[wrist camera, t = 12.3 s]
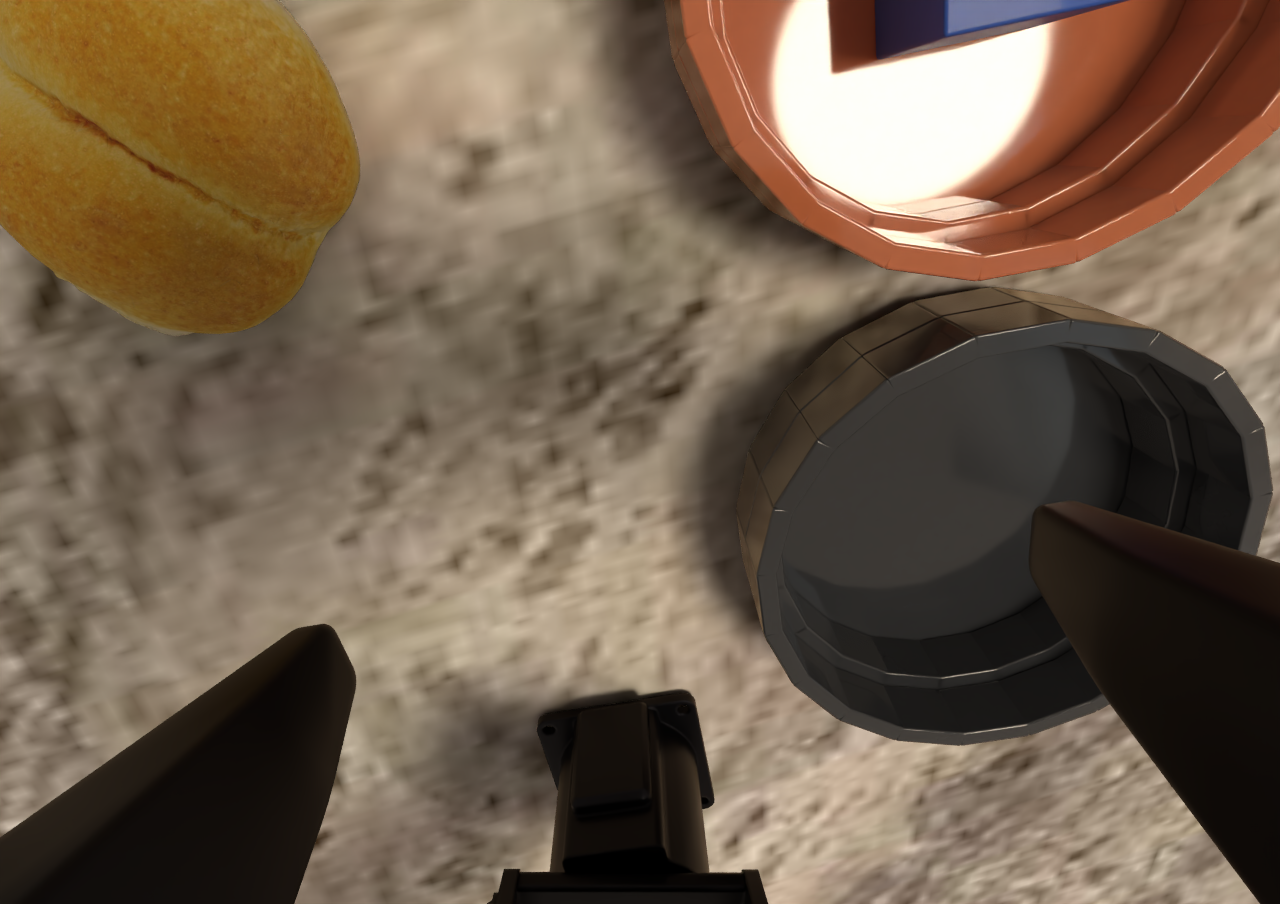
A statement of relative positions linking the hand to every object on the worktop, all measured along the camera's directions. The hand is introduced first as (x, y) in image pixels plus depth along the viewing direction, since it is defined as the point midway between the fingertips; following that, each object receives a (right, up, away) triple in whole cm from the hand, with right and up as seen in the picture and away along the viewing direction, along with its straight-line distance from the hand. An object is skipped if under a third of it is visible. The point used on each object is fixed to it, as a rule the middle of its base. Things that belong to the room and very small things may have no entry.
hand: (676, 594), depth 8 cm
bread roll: (-12, +10, +10) cm, 19 cm away
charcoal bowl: (+10, 0, +14) cm, 18 cm away
